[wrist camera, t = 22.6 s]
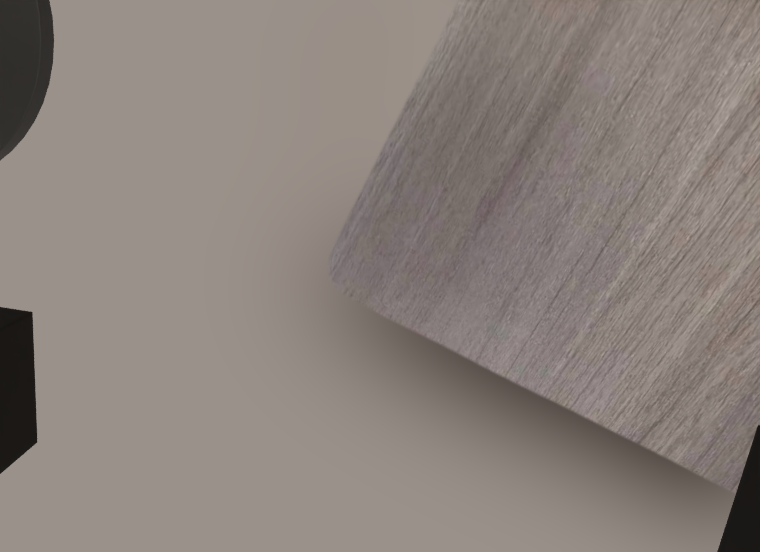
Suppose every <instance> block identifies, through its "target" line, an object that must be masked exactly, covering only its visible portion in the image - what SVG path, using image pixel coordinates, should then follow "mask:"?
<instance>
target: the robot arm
mask: <svg viewBox="0 0 760 552" xmlns="http://www.w3.org/2000/svg"><path fill="white" fill-rule="evenodd" d="M36 443H37V423H36V398H35V371H34V344H33V318H32V312H28V311H21V310H16V309H9V308H2V307H0V474H1V473H2V472H3V471H4V470H5V469H6V468H8V467H9V466H10V465H11V464H12V463H13V462H15V461H16V460H17V459H18V458H19V457H20V456H22V455H23V454H24V453H25V452H26V451H27V450H29V449H30V448H31V447H32V446H33V445H34V444H36ZM718 552H760V425H758V427H757V430H756V434H755V437H754V440H753V443H752V446H751V449H750V452H749V455H748V458H747V461H746V465H745V468H744V471H743V474H742V477H741V480H740V483H739V486H738V489H737V493H736V496H735V499H734V502H733V505H732V508H731V512H730V514H729V518H728V521H727V524H726V527H725V530H724V533H723V536H722V539H721V542H720V546H719V549H718Z"/></svg>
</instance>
